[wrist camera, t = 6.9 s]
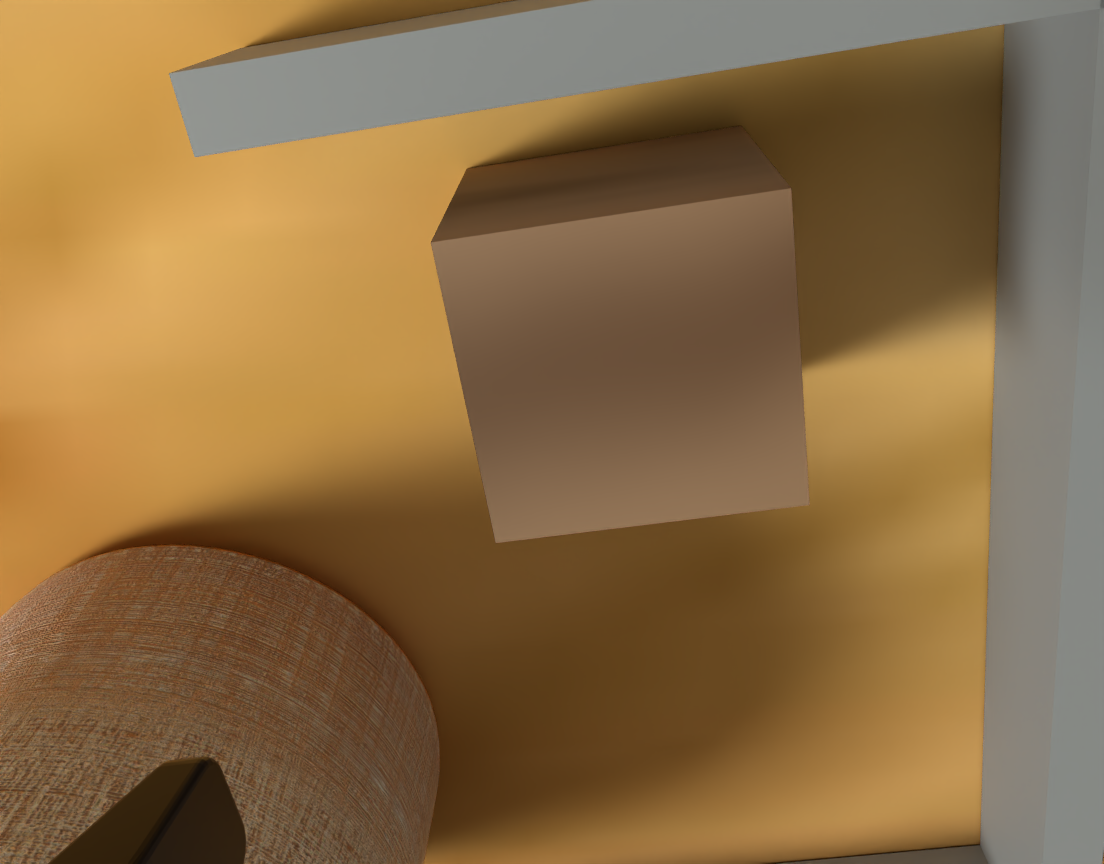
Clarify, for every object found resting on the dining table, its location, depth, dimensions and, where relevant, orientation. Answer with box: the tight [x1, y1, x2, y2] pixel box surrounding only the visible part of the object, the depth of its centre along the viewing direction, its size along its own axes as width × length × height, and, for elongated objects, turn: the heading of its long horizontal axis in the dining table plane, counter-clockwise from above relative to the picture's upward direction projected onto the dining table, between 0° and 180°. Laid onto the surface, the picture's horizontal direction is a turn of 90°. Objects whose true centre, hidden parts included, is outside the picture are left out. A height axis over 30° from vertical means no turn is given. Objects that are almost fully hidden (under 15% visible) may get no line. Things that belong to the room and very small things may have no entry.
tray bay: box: [169, 0, 1104, 864], centre depth 20 cm, size 22×14×4 cm, turn 9°
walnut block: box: [431, 126, 810, 543], centre depth 17 cm, size 5×5×5 cm
